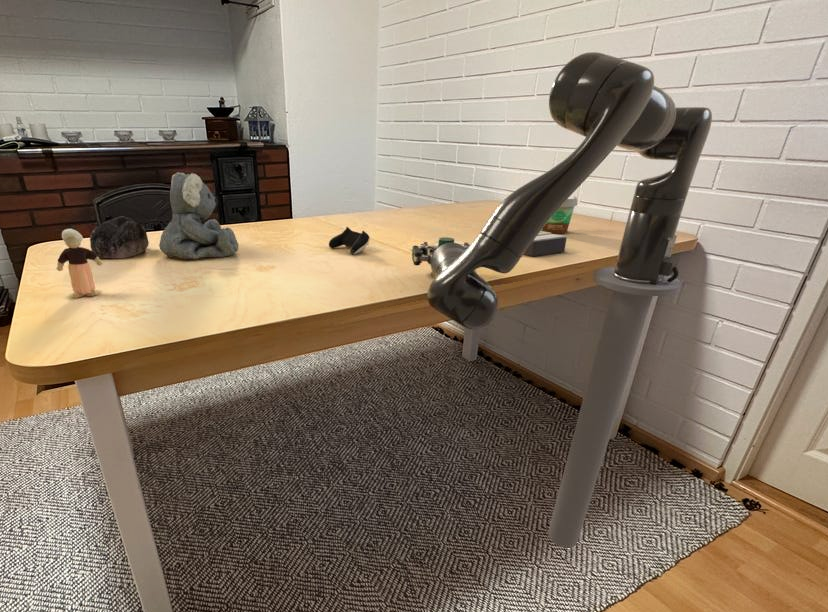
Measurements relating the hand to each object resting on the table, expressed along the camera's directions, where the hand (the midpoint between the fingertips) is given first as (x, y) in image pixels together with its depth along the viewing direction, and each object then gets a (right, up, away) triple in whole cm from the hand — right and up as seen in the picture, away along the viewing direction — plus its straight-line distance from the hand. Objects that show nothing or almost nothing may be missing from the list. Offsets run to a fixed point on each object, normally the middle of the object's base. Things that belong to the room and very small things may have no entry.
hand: (445, 246), depth 100 cm
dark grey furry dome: (-79, +3, +20) cm, 82 cm away
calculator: (+26, +5, +23) cm, 35 cm away
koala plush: (-59, +3, +20) cm, 63 cm away
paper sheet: (+7, +4, +21) cm, 23 cm away
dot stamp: (0, -6, +1) cm, 6 cm away
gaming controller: (-20, +5, +22) cm, 31 cm away
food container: (+41, +14, +39) cm, 58 cm away
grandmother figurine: (-72, -12, -9) cm, 73 cm away
